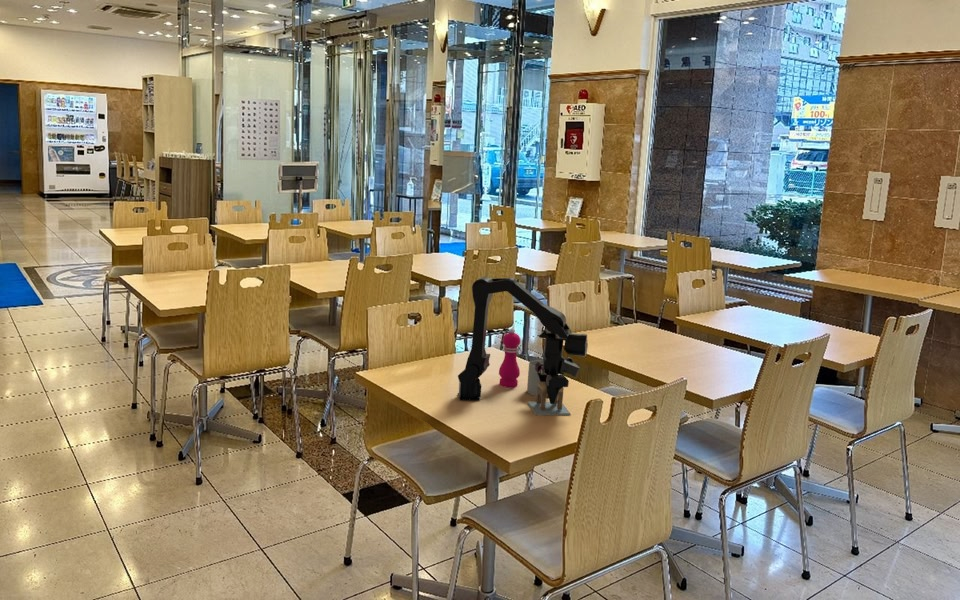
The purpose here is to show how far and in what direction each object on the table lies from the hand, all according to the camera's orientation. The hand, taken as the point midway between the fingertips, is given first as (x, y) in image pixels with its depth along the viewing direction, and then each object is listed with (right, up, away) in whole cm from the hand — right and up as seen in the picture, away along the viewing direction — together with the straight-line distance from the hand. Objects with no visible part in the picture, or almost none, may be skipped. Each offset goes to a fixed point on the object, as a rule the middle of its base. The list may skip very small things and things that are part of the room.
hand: (549, 400), depth 244 cm
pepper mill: (-12, +2, +23) cm, 26 cm away
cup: (-2, 0, +17) cm, 17 cm away
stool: (0, -2, 0) cm, 2 cm away
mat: (0, -3, +1) cm, 3 cm away
